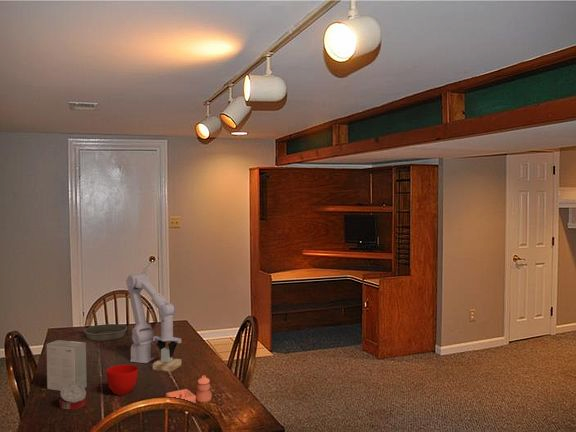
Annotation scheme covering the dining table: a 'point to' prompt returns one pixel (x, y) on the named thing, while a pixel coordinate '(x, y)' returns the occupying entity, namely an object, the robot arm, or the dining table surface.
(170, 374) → the dining table surface
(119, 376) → the ceramic cup
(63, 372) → the hard drive box
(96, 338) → the cake pan
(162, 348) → the robot arm
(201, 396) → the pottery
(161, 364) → the maple pedestal
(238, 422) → the dining table surface
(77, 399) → the canned food
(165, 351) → the gray block
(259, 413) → the dining table surface
